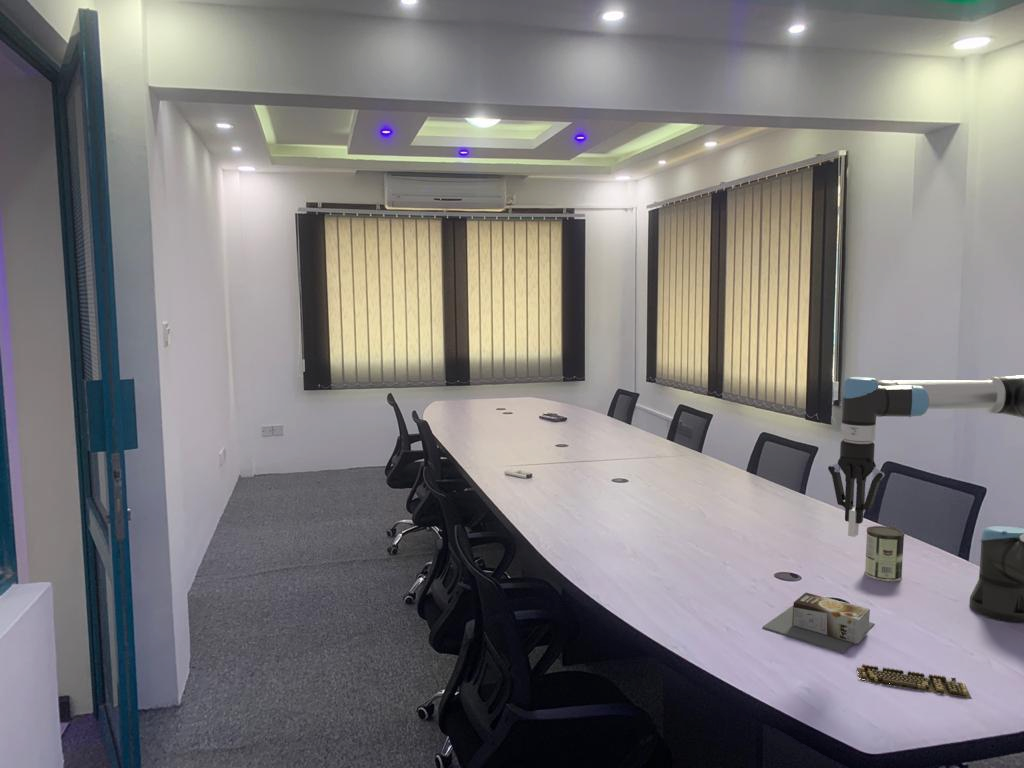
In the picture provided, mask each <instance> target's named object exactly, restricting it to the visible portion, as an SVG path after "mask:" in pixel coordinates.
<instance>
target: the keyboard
mask: <svg viewBox="0 0 1024 768" xmlns="http://www.w3.org/2000/svg"><path fill="white" fill-rule="evenodd" d="M856 668H857V670H856V672H857V671H858V672H859V673H858V674H859V675H858V674H857V678H858V677H859V678H861V679H860V680H861V681H866V682H865V683H867V682H871V683H870V684H873V683H875V684H874V685H880V684H882V686H887V685H889V687H893V686H896V687H895V688H899V687H901V689H907V690H912V691H918V690H920V691H919V692H924V691H926V693H931V692H934V693H933V694H937V693H940V694H939V695H943V694H946V695H945V696H949V697H958V698H963V699H968V700H969V699H973V698H972V696H971V695H970V691H969V690H968V688H967V685H966V684H965V683H963V682H956V681H957V680H956V679H957V678H956V677H951V678H950V679H952V680H947V677H946V676H944V675H936V674H932V673H931V674H928V675H929V676H928V677H926V676H925V674H924V673H923V672H921V673H920V672H915V671H910V670H908V671H907V672H906V673H907V674H906V673H905V674H904V671H903V669H898V668H890V667H883V666H882V670H881V669H880V670H879V667H878V665H870V664H864V663H862V665H861V667H856ZM862 679H865V680H862ZM861 681H860V682H861ZM889 683H890V684H889ZM890 685H891V686H890Z"/></svg>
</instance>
